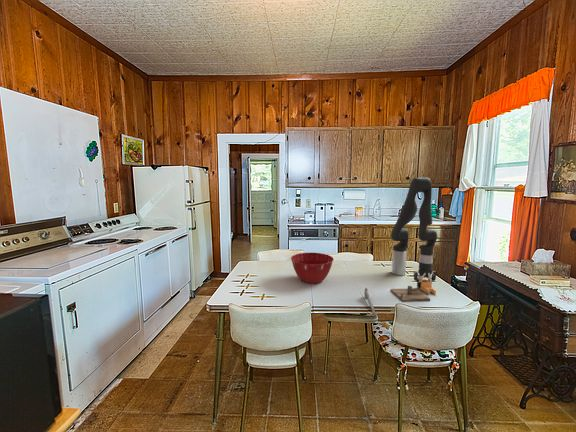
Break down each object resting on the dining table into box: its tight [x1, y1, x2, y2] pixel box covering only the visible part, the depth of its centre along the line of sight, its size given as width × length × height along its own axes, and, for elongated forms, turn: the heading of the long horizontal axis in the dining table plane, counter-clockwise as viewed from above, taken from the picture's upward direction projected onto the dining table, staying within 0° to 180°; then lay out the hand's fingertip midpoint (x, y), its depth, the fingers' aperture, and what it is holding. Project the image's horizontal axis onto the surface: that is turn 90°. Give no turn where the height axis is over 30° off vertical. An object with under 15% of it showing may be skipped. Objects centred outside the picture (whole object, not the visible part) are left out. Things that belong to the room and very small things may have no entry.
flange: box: [418, 278, 437, 295], centre depth 181 cm, size 12×6×5 cm, turn 5°
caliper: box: [364, 287, 375, 313], centre depth 162 cm, size 20×1×6 cm, turn 178°
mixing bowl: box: [290, 252, 335, 284], centre depth 200 cm, size 28×28×16 cm
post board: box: [390, 285, 431, 302], centre depth 174 cm, size 16×16×6 cm
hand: (424, 287), depth 184 cm, fingers closed on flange, 6 cm apart
